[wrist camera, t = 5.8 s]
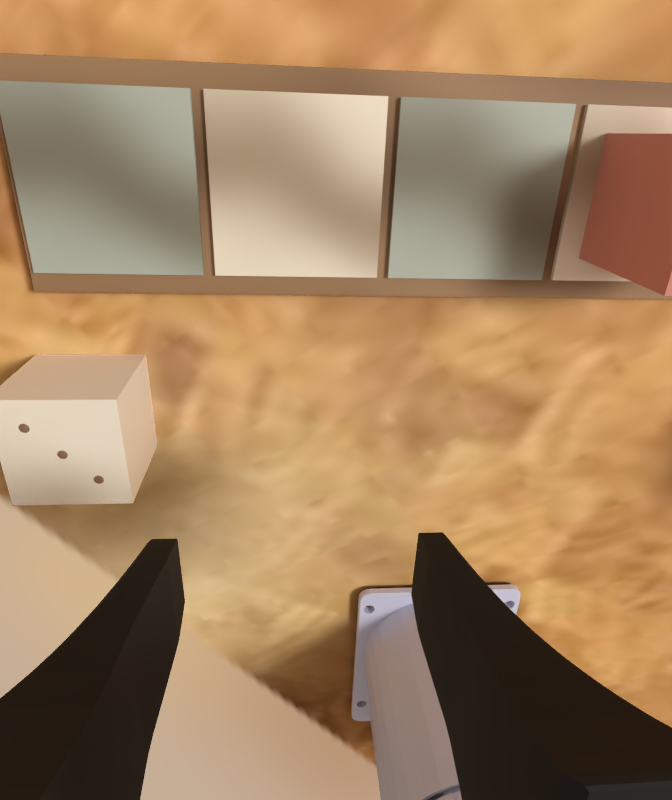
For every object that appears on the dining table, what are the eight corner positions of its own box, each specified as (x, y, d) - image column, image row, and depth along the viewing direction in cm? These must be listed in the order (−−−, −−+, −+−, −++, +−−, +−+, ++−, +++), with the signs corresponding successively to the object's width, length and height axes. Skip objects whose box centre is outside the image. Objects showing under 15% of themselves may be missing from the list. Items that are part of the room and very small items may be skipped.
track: (684, 295, 21) (698, 301, 21) (41, 287, 19) (31, 293, 19) (749, 88, 18) (767, 86, 17) (-7, 54, 16) (-20, 51, 16)
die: (158, 445, 23) (132, 505, 19) (57, 446, 22) (12, 507, 19) (146, 353, 21) (115, 400, 17) (36, 353, 21) (-18, 401, 17)
